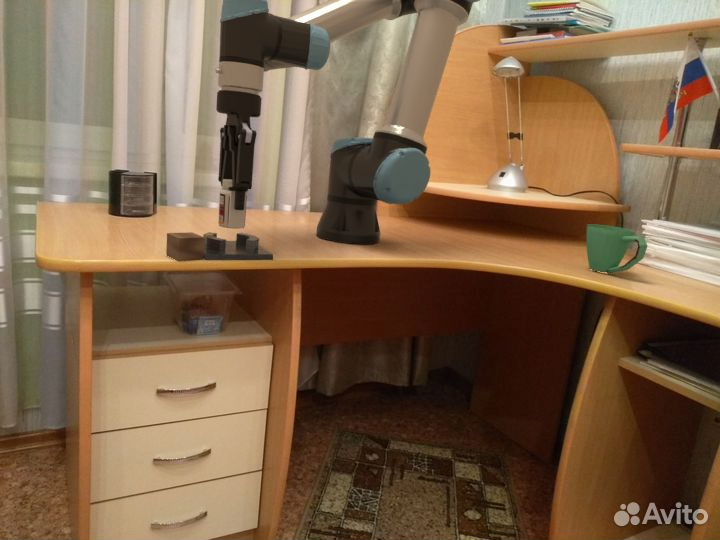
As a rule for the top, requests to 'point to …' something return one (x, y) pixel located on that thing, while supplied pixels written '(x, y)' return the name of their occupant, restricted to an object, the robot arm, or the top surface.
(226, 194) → the pill bottle
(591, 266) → the mug
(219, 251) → the socket
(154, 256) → the top surface
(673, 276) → the top surface
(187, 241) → the walnut block
